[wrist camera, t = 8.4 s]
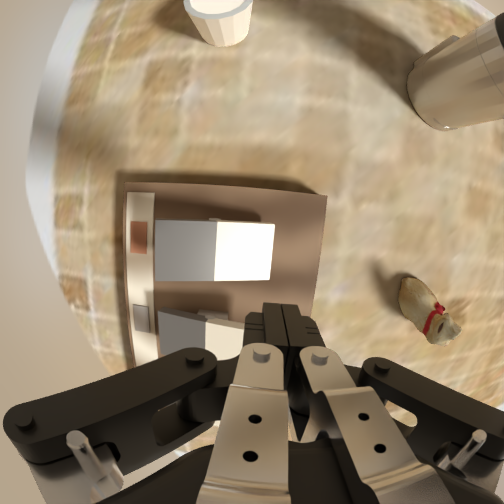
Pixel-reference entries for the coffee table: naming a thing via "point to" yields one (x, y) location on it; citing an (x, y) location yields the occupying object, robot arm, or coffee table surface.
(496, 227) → the coffee table surface
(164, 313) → the rocker mid
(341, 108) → the coffee table surface
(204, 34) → the white tapered cup
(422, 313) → the chocolate bunny
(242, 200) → the switch console
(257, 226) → the rocker
